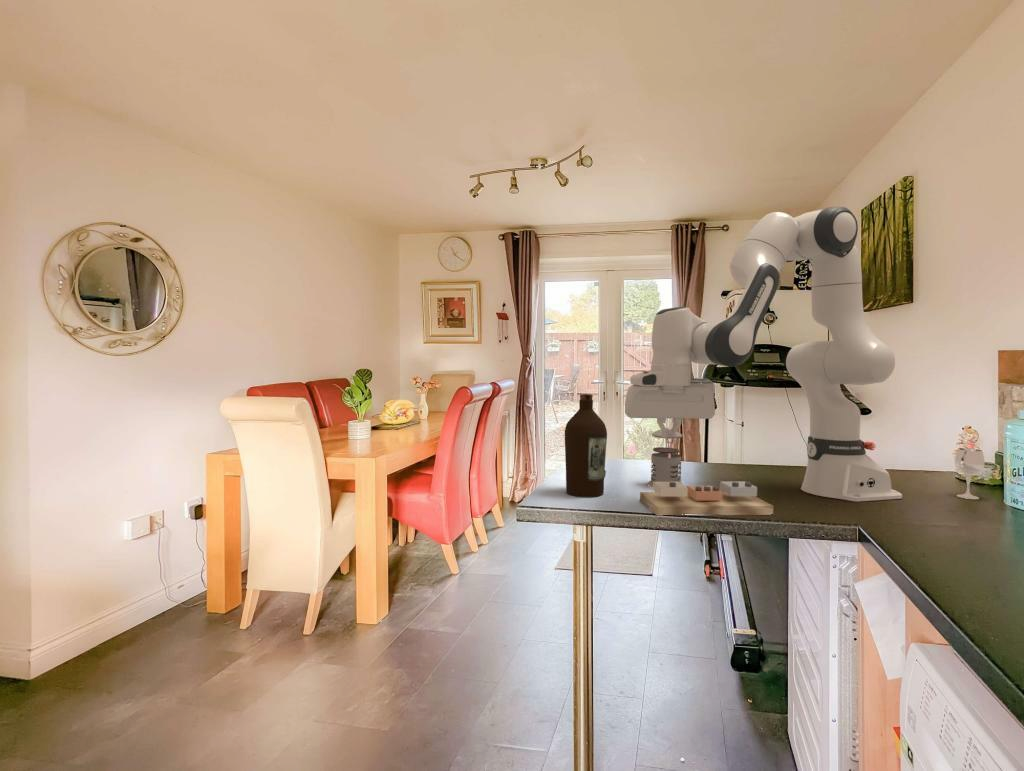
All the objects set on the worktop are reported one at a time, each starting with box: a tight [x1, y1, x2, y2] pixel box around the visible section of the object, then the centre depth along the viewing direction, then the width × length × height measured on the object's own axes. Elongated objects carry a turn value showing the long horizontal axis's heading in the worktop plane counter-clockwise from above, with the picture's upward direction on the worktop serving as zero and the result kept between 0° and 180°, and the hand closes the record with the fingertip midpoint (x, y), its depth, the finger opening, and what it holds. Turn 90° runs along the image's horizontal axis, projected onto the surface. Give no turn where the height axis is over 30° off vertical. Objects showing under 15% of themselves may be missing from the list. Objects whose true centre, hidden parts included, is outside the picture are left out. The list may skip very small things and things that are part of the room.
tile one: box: [652, 482, 688, 497], centre depth 127 cm, size 6×6×3 cm
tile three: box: [685, 485, 723, 501], centre depth 128 cm, size 6×6×3 cm
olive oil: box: [564, 393, 608, 498], centre depth 140 cm, size 11×11×25 cm
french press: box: [647, 418, 683, 488], centre depth 150 cm, size 10×12×25 cm
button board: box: [639, 491, 774, 517], centre depth 128 cm, size 26×13×2 cm, turn 93°
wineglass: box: [954, 447, 986, 500], centre depth 139 cm, size 6×6×12 cm
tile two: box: [719, 480, 758, 497], centre depth 128 cm, size 6×6×3 cm
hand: (668, 437), depth 128 cm, fingers closed
